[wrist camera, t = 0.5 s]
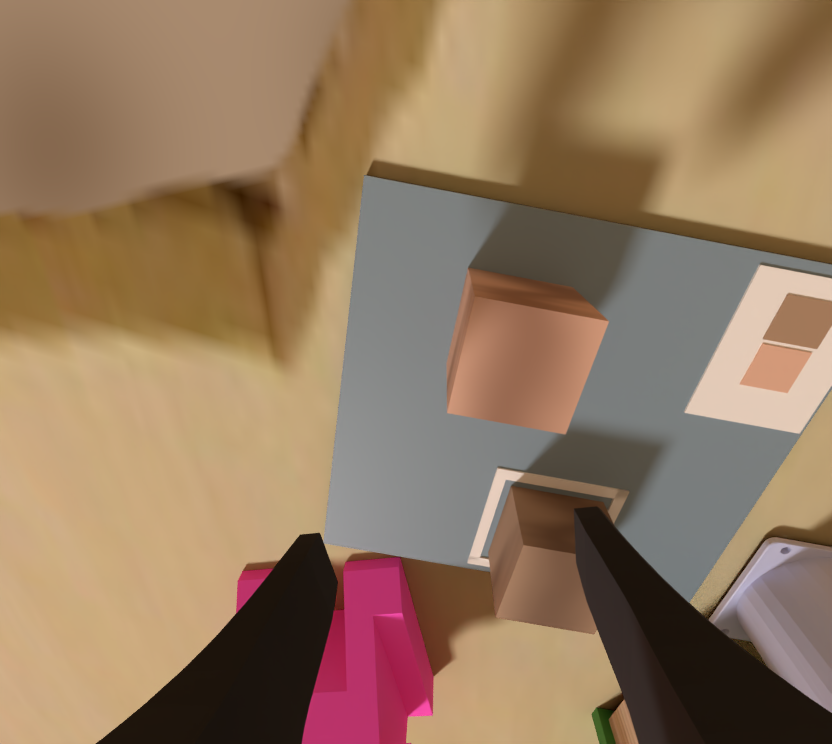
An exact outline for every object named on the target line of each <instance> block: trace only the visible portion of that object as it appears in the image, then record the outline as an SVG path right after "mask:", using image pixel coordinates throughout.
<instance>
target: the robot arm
mask: <svg viewBox="0 0 832 744" xmlns="http://www.w3.org/2000/svg"><path fill="white" fill-rule="evenodd" d="M574 528H575V552H576V565H577V568H578V572H579V576H580V580H581V583H582V587H583V590H584V594H585V597H586V601H587V604H588V606H589V609H590V612H591V614H592V617H593V619H594V622H595V624H596V627H597V630H598V632H599V635H600V637H601V640H602V642H603V645H604V647H605V650H606V653H607V655H608V658H609V660H610V663H611V665H612V668H613V670H614V673H615V675H616V678H617V681H618V683H619V686H620V688H621V691H622V693H623V696H624V699H625V702H626V705H627V708H628V710H629V713H630V717H631V720H632V723H633V726H634V730H635V733H636V736H637V740H638V743H639V744H832V547H829V546H823V545H817V544H812V543H806V542H800V541H795V540H789V539H783V538H778V537H772V538H769V539H767V540H765V541H764V543H763V544H762V545H761V547H760V548H759V550H758V551H757V552H756V554H755V555H754V557H753V558H752V559H751V561H750V562H749V564H748V565H747V566H746V568H745V569H744V571H743V572H742V573H741V575H740V576H739V578H738V579H737V580H736V582H735V583H734V585H733V586H732V587H731V589H730V590H729V592H728V593H727V594H726V596H725V597H724V599H723V600H722V601H721V603H720V604H719V606H718V607H717V608H716V610H715V611H714V613H713V614H712V615H711V617H710V618H709V620H708V619H707V618H705V617H704V616H703V615H702V614H701V613H700V612H699V611H698V610H696V609H695V608H694V607H693V606H692V605H691V604H690V603H689V602H688V601H687V600H685V599H684V598H683V597H682V596H681V595H680V594H679V593H678V592H677V591H676V590H675V589H674V588H673V587H672V586H671V585H670V584H669V583H668V582H667V581H665V580H664V579H663V578H662V577H661V576H660V575H659V574H658V573H657V571H656V570H655V569H654V568H653V567H652V566H651V565H650V564H649V563H648V562H647V561H646V560H645V559H644V558H643V557H642V556H641V555H640V554H639V553H638V552H637V551H636V550H635V548H634V547H633V546H632V545H631V544H630V543H629V542H628V541H627V540H626V538H625V537H624V536H623V535H622V534H621V533H620V532H619V530H618V529H617V528H616V527H615V526H614V525H613V523H612V522H611V521H610V520H609V518H608V517H607V516H606V515H605V513H604V512H603V511H602V510H601V509H600V508H599V507H597V506H595V507H584V508H574ZM337 584H338V581H337V578H336V576H335V573H334V570H333V567H332V565H331V562H330V559H329V557H328V554H327V551H326V548H325V546H324V543H323V540H322V537H321V535H320V533H313V534H303V535H300V536H299V537H298V538H297V539H296V541H295V542H294V543H293V544H292V546H291V547H290V548H289V549H288V551H287V552H286V553H285V554H284V556H283V557H282V558H281V560H280V561H279V562H278V563H277V565H276V566H275V567H274V568H273V570H272V571H271V572H270V574H269V575H268V576H267V577H266V579H265V580H264V581H263V582H262V583H261V585H260V586H259V587H258V588H257V590H256V591H255V592H254V593H253V595H252V596H251V597H250V598H249V599H248V601H247V602H246V603H245V604H244V605H243V606H242V608H241V609H240V610H239V611H238V612H237V613H236V614H235V616H234V617H233V618H232V619H231V620H230V621H229V622H228V624H227V625H226V626H225V627H224V628H223V629H222V630H221V631H220V633H219V634H218V635H217V636H216V637H215V638H214V639H213V640H212V641H211V642H210V643H209V644H208V645H207V646H206V647H205V648H204V649H203V650H202V651H201V652H200V653H199V654H198V655H197V656H196V657H195V658H194V659H193V660H192V661H191V662H190V663H189V664H188V665H187V666H186V667H185V668H184V669H183V670H182V671H181V672H180V673H179V674H178V675H177V676H175V677H174V678H173V679H172V680H171V681H170V682H169V683H168V684H167V685H165V686H164V687H163V688H162V689H161V690H160V691H159V692H158V693H157V694H155V695H154V696H153V697H152V698H151V699H150V700H149V701H148V702H147V703H145V704H144V705H143V706H142V707H141V708H140V709H138V710H137V711H136V712H135V713H133V714H132V715H131V716H130V717H129V718H127V719H126V720H125V721H124V722H123V723H121V724H120V725H119V726H118V727H116V728H115V729H114V730H113V731H111V732H110V733H109V734H108V735H106V736H105V737H104V738H103V739H101V740H100V741H99V742H97V743H96V744H302V738H303V733H304V727H305V723H306V718H307V714H308V710H309V705H310V702H311V698H312V694H313V690H314V687H315V683H316V679H317V676H318V672H319V668H320V664H321V661H322V657H323V653H324V650H325V646H326V642H327V638H328V634H329V631H330V627H331V623H332V619H333V612H334V606H335V599H336V592H337ZM730 638H733V639H739V640H745V641H751V642H752V643H753V645H754V646H755V648H756V650H757V651H758V653H759V654H760V656H761V657H762V659H763V660H764V662H765V663H766V665H767V667H766V666H765V665H764V664H762V663H761V662H760V661H758V660H757V659H756V658H754V657H753V656H752V655H751V654H749V653H748V652H747V651H746V650H744V649H743V648H742V647H740V646H739V645H738V644H737V643H735V642H734V641H733V640H732V639H730Z"/></svg>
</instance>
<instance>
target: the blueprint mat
mask: <svg viewBox="0 0 832 744" xmlns="http://www.w3.org/2000/svg"><path fill="white" fill-rule="evenodd" d="M468 268H473V269H479V270H484V271H489V272H495V273H500V274H505V275H511V276H516V277H521V278H527V279H532V280H537V281H543V282H548V283H553V284H559V285H564V286H569V287H573V288H574V289H575V290H576V291H577V292H578V293H579V294H581V295H582V296H583V297H584V298H585V299H586V300H587V301H588V302H589V303H590V304H591V305H592V306H593V307H594V308H595V309H596V310H598V311H599V312H600V313H601V314H602V315H603V316H604V317H605V318H606V319H607V320H608V321H609V323H608V326H607V328H606V331H605V333H604V336H603V339H602V341H601V344H600V346H599V349H598V352H597V354H596V357H595V359H594V362H593V365H592V367H591V370H590V372H589V375H588V378H587V380H586V383H585V385H584V388H583V391H582V393H581V396H580V398H579V401H578V404H577V406H576V409H575V411H574V414H573V416H572V419H571V422H570V424H569V427H568V429H567V432H566V434H560V433H555V432H549V431H544V430H538V429H533V428H527V427H522V426H516V425H510V424H505V423H499V422H494V421H488V420H483V419H477V418H472V417H466V416H461V415H455V414H449V413H447V368H446V363H447V359H448V354H449V350H450V345H451V341H452V336H453V332H454V328H455V323H456V319H457V314H458V310H459V305H460V301H461V296H462V292H463V287H464V283H465V278H466V274H467V270H468ZM831 389H832V264H829V263H823V262H818V261H813V260H808V259H802V258H797V257H792V256H787V255H781V254H776V253H771V252H766V251H761V250H755V249H750V248H745V247H740V246H734V245H729V244H724V243H719V242H714V241H708V240H703V239H698V238H693V237H687V236H682V235H677V234H672V233H666V232H661V231H656V230H651V229H646V228H640V227H635V226H630V225H625V224H619V223H614V222H609V221H604V220H599V219H593V218H588V217H583V216H578V215H572V214H567V213H562V212H557V211H551V210H546V209H541V208H536V207H531V206H525V205H520V204H515V203H510V202H504V201H499V200H494V199H489V198H484V197H478V196H473V195H468V194H463V193H457V192H452V191H447V190H442V189H436V188H431V187H426V186H421V185H416V184H410V183H405V182H400V181H395V180H389V179H384V178H379V177H374V176H369V175H364V181H363V190H362V199H361V208H360V217H359V226H358V236H357V245H356V254H355V263H354V272H353V281H352V290H351V299H350V308H349V317H348V326H347V335H346V344H345V353H344V362H343V371H342V380H341V389H340V398H339V407H338V416H337V425H336V434H335V443H334V452H333V461H332V471H331V480H330V489H329V498H328V507H327V516H326V525H325V534H324V543H325V544H330V545H336V546H342V547H348V548H354V549H359V550H365V551H371V552H377V553H382V554H388V555H394V556H400V557H406V558H411V559H417V560H423V561H429V562H435V563H440V564H446V565H452V566H458V567H464V568H469V569H475V570H481V571H487V572H490V565H489V556H488V552H489V549H490V546H491V543H492V540H493V537H494V534H495V531H496V528H497V525H498V522H499V519H500V517H501V514H502V511H503V508H504V505H505V502H506V499H507V496H508V493H509V490H510V487H511V486H516V487H522V488H527V489H533V490H539V491H544V492H550V493H556V494H561V495H567V496H572V497H578V498H584V499H589V500H595V501H601V502H604V504H605V506H606V509H607V511H608V513H609V515H610V517H611V519H612V521H613V523H614V525H615V527H616V528H617V529H618V530H619V532H620V533H621V534H622V535H623V536H624V537H625V538H626V540H627V541H628V542H629V543H630V544H631V545H632V546H633V547H634V548H635V550H636V551H637V552H638V553H639V554H640V555H641V556H642V557H643V558H644V559H645V560H646V561H647V562H648V563H649V564H650V565H651V566H652V567H653V568H654V569H655V570H656V571H657V573H658V574H659V575H660V576H661V577H662V578H663V579H664V580H665V581H667V582H668V583H669V584H670V585H671V586H672V587H673V588H674V589H675V590H676V591H677V592H678V593H679V594H680V595H681V596H682V597H683V598H684V599H685V600H687V601H688V602H690V601H691V599H692V598H693V596H694V595H695V593H696V592H697V590H698V589H699V587H700V586H701V584H702V583H703V581H704V580H705V578H706V577H707V575H708V574H709V572H710V571H711V569H712V568H713V566H714V565H715V563H716V562H717V560H718V559H719V557H720V556H721V554H722V553H723V551H724V550H725V548H726V547H727V545H728V544H729V542H730V541H731V539H732V538H733V536H734V535H735V533H736V532H737V530H738V529H739V527H740V526H741V524H742V523H743V521H744V520H745V518H746V517H747V515H748V514H749V512H750V511H751V509H752V508H753V506H754V505H755V503H756V502H757V500H758V499H759V497H760V496H761V494H762V493H763V491H764V490H765V488H766V487H767V485H768V484H769V482H770V481H771V479H772V478H773V476H774V475H775V473H776V472H777V470H778V469H779V467H780V466H781V464H782V463H783V461H784V460H785V458H786V457H787V455H788V454H789V452H790V451H791V449H792V448H793V446H794V445H795V443H796V442H797V440H798V439H799V437H800V436H801V434H802V433H803V431H804V430H805V428H806V427H807V425H808V424H809V422H810V421H811V419H812V418H813V416H814V415H815V413H816V412H817V410H818V409H819V407H820V406H821V404H822V403H823V401H824V400H825V398H826V397H827V395H828V394H829V392H830V391H831Z"/></svg>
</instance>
